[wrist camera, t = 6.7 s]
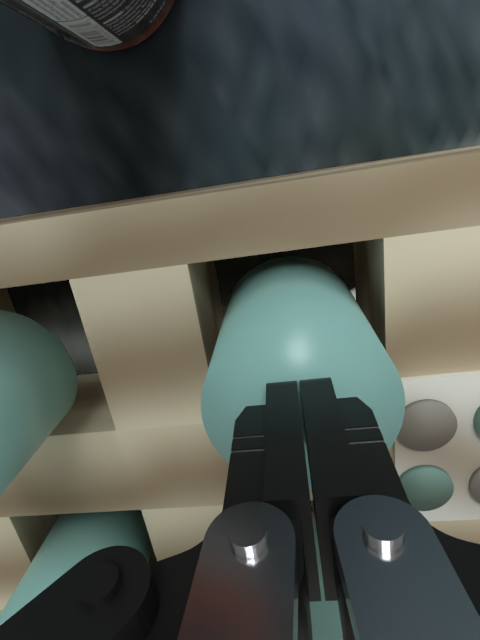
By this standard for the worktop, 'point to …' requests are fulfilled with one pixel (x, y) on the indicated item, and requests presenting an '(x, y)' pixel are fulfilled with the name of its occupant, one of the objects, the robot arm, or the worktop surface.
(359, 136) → the worktop surface
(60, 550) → the button
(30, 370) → the button
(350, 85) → the worktop surface
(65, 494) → the console
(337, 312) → the button
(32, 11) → the supplement bottle
